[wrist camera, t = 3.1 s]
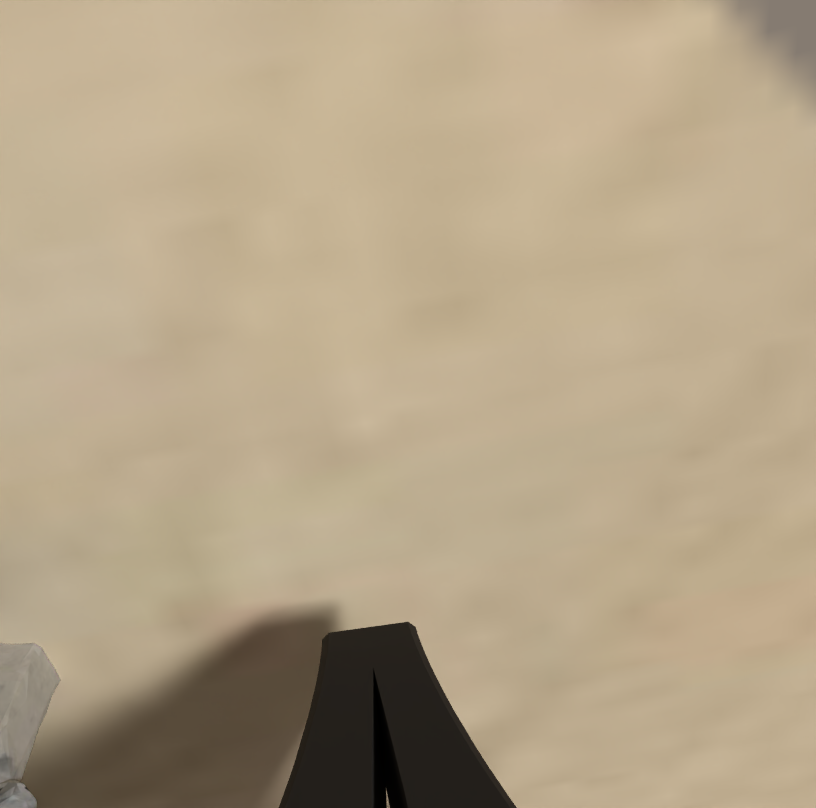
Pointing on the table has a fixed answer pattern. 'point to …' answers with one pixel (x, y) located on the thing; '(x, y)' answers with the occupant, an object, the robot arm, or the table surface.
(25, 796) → the grey jagged block
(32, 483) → the table surface
